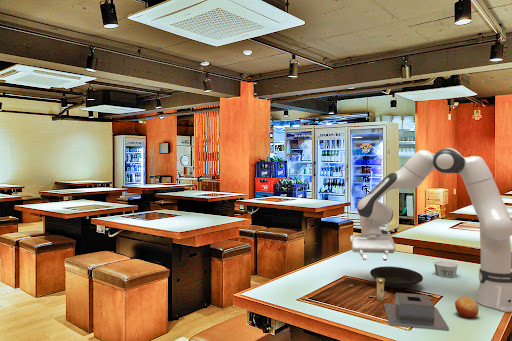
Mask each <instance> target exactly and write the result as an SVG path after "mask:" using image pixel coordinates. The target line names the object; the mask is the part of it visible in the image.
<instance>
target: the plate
mask: <svg viewBox="0 0 512 341" xmlns="http://www.w3.org/2000/svg"><path fill="white" fill-rule="evenodd" d="M369 273H370V276H371V278H373V279H375V280H376V278H384V279H385V282H384V286H386V287H387V288H391V289H395V290H397V289H399V290H401V289H403V290H404V289H407V288H410V287H412V286H415V285H417V284H420V283H421V282H422V281H423V280H424V277H423V275H422V274H421V273H420V272H418V271H415V270H412V269H410V268H405V267H401V266H378V267H373V268H372V269H370V272H369Z"/></svg>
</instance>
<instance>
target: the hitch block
mask: <svg viewBox="0 0 512 341" xmlns="http://www.w3.org/2000/svg"><path fill="white" fill-rule="evenodd" d="M383 304H384V305H383V306H384V309H385V313H386V316H387V321H388V324H389V326H396V327H406V328H418V329H419V328H420V329H427V330H437V331H439V330H440V331H448V332H449V331H450V327H449V325H448V324H447V323H446V320H445V319H444V317H443V316H442V314H441V313H440V311H439V309H438V308H437V307H436V306H435V305H434V303H433V301H432V300H431V298H430V296H429V295H428V294H418V293H404V292H395V303H383Z"/></svg>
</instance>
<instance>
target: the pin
mask: <svg viewBox="0 0 512 341" xmlns="http://www.w3.org/2000/svg"><path fill="white" fill-rule="evenodd" d="M375 282H376V300H377V301H381V302H382V301H385V285H384V282H385V279H384V278H376V279H375Z"/></svg>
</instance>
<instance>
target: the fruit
mask: <svg viewBox="0 0 512 341" xmlns="http://www.w3.org/2000/svg"><path fill="white" fill-rule="evenodd" d="M454 306H455V309H456V313H458V315H460V316H461V317H462V318H474V317H475V318H476V316H478V315H479V303H478V302H477V301H476V300H474V299H472V298H470V297H468V296H461V297H458V298H457V299H456V300H454Z"/></svg>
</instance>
